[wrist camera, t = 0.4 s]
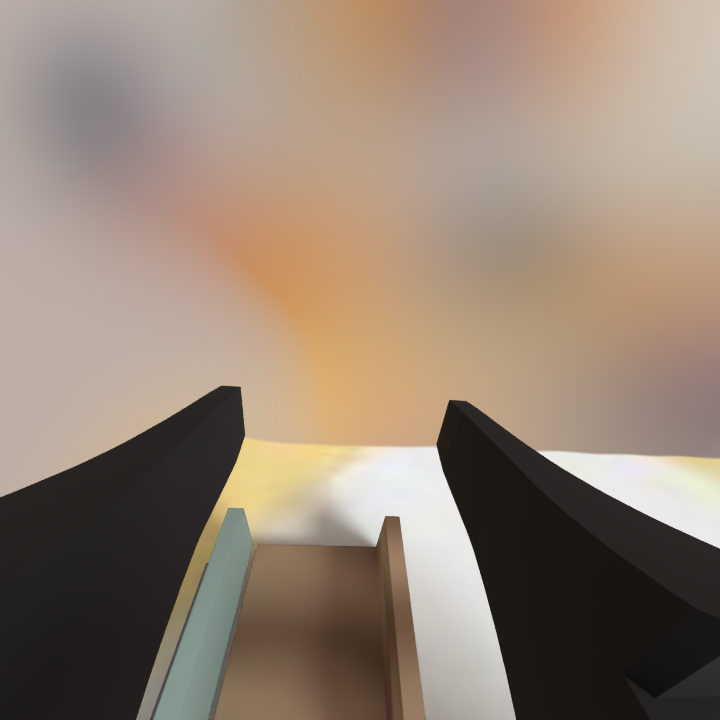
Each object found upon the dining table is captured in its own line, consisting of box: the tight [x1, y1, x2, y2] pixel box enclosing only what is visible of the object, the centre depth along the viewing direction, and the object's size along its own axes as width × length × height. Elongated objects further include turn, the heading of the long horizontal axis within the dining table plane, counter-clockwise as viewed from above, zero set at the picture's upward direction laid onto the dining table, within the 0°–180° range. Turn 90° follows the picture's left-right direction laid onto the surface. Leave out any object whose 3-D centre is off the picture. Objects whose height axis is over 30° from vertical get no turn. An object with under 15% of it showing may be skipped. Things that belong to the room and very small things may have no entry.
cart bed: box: [214, 516, 426, 720], centre depth 17 cm, size 12×10×6 cm
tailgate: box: [150, 508, 253, 720], centre depth 16 cm, size 12×1×6 cm, turn 1°
